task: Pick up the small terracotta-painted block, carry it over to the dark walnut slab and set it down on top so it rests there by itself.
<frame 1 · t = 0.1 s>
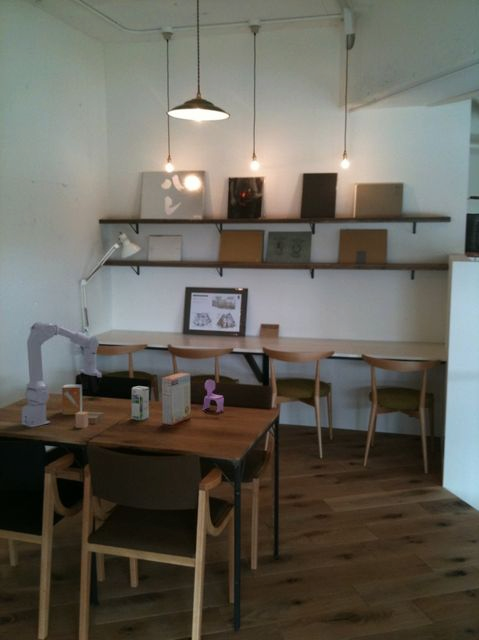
hand: (90, 390, 267), 10 cm above the table, tool pointing down, fingers open, 7 cm apart
cracker box: (176, 421, 254), on the table
toy chair: (213, 411, 272), on the table
terracotta block: (82, 426, 243), on the table
syrup box: (140, 418, 257), on the table
small box: (72, 413, 264), on the table
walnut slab: (90, 421, 252), on the table
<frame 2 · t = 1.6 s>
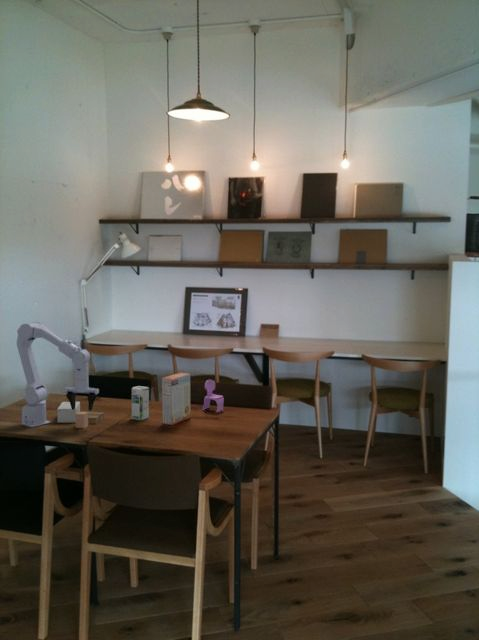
hand: (82, 409, 242), 7 cm above the table, tool pointing down, fingers open, 7 cm apart
small box: (71, 408, 260), point 3 cm above the table
everything else where it was.
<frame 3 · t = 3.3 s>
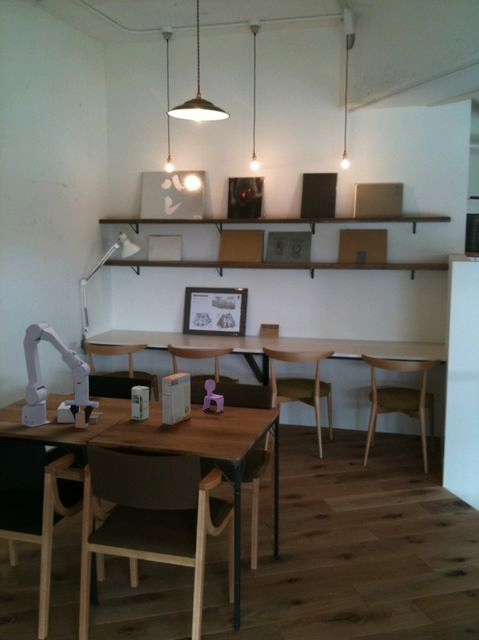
hand: (82, 422, 243), 2 cm above the table, tool pointing down, fingers closed on terracotta block, 4 cm apart
terracotta block: (82, 426, 243), on the table, touching gripper
everything else where it was.
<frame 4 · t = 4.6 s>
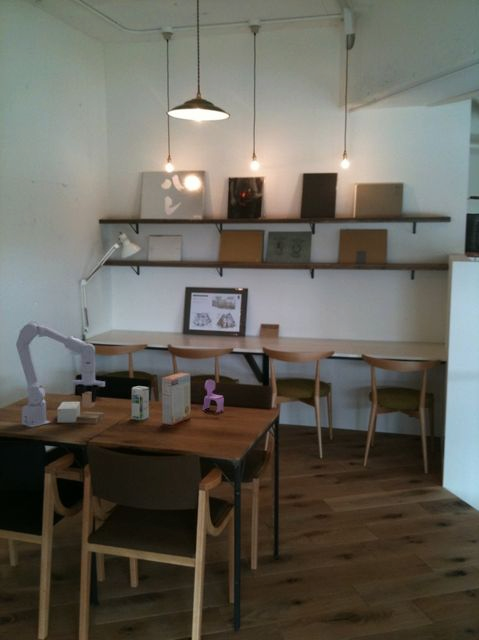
hand: (88, 401, 250), 9 cm above the table, tool pointing down, fingers closed on terracotta block, 4 cm apart
terracotta block: (88, 406, 250), point 7 cm above the table, touching gripper
everything else where it was.
when the fingers open (6 cm above the table, at t = 6.1 s): terracotta block drops 1 cm, point 3 cm above the table.
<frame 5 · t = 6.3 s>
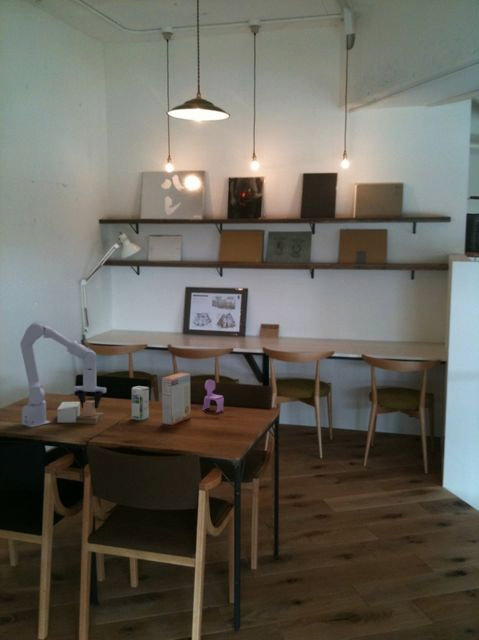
hand: (90, 407, 252), 6 cm above the table, tool pointing down, fingers open, 5 cm apart
terracotta block: (89, 415, 252), point 3 cm above the table
everything else where it was.
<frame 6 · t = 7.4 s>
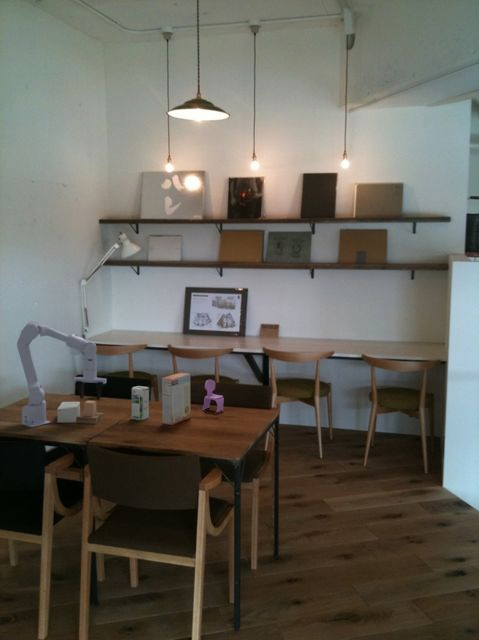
hand: (90, 398, 251), 10 cm above the table, tool pointing down, fingers open, 7 cm apart
nothing on the table moved.
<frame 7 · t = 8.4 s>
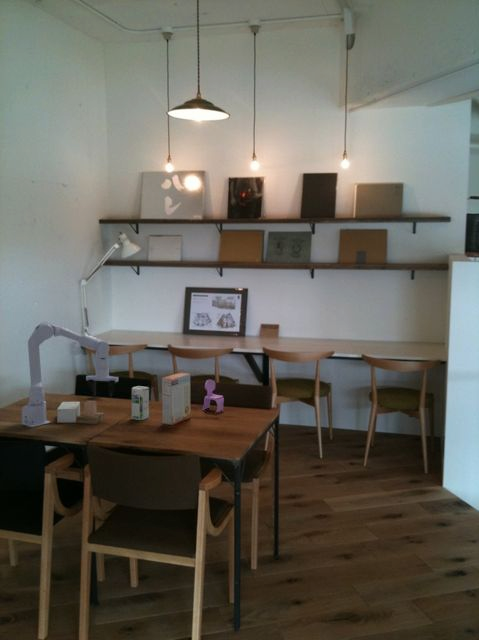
hand: (102, 396, 255), 10 cm above the table, tool pointing down, fingers open, 7 cm apart
terracotta block: (90, 415, 252), point 2 cm above the table, touching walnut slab
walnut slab: (90, 421, 252), on the table, touching terracotta block
everything else where it was.
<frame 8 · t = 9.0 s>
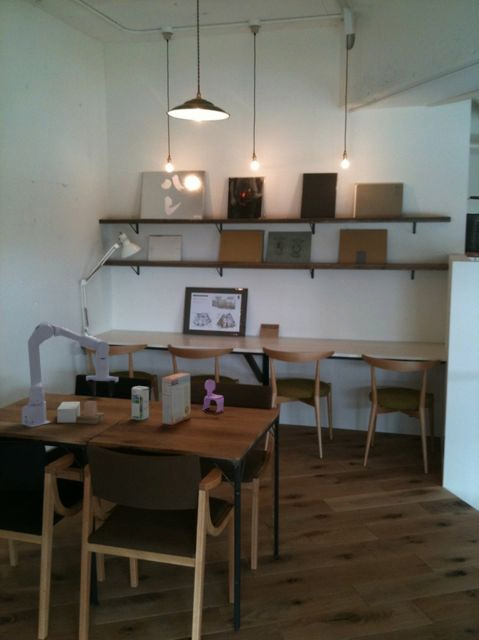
hand: (102, 396, 255), 10 cm above the table, tool pointing down, fingers open, 7 cm apart
nothing on the table moved.
at the end: terracotta block inside the target area on the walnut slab (0.6 cm from its centre), point 3.0 cm above the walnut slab's base; terracotta block tilted 1°; the gripper is holding nothing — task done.
